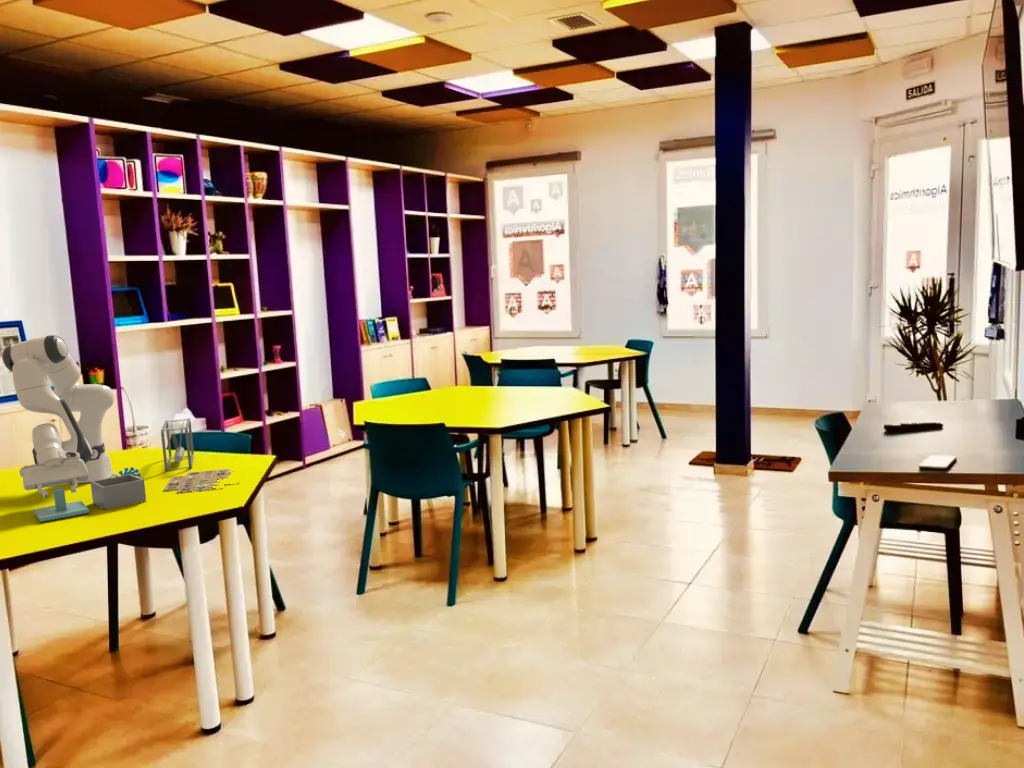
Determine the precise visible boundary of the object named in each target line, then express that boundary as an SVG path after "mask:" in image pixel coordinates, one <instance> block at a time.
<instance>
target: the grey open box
mask: <svg viewBox="0 0 1024 768" xmlns="http://www.w3.org/2000/svg"><path fill="white" fill-rule="evenodd" d="M141 478H142V477H138V476H134V475H132V474H129V475H123V476H121V475H118V477H115V476H114V477H113V476H112V477H109V478H107V479H102V480H97V481H91V482H90V491H91V496H92V503H93V504H94V505H95V504H96V505H95V506H97V505H98V506H97V507H99V506H100V508H101V507H102V508H101V509H103V510H104V509H108V510H111V509H110V508H112V509H115V508H114V507H117V508H120V507H119V506H122V507H125V506H124V505H126V506H129V505H128V504H131V505H134V504H133V503H136V504H138V503H137V502H141V501H145V500H146V501H147V496H146V486H145V479H144V478H143V479H141ZM146 501H145V502H146ZM141 503H142V502H141Z"/></svg>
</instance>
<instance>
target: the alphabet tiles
mask: <svg viewBox="0 0 1024 768" xmlns="http://www.w3.org/2000/svg"><path fill="white" fill-rule="evenodd" d="M229 471H230V472H229ZM234 471H235V470H234ZM234 471H231V468H226V469H225V468H224V469H216V470H214V469H213V470H203V471H202V470H201V471H192V472H191V471H189V472H187V474H186V475H181V476H179V475H178V476H171V478H170V479H169V480H168V482H167V483H166V484H165V486H164V488H163V490H162V492H163V491H167V492H171V491H170V490H177V491H176V494H177V493H180V494H184V493H183V492H190V493H193V492H192V491H199V492H203V491H202V490H208V491H210V490H209V489H216V488H213V487H212V486H218V485H219V484H218V485H215V484H213V483H219V482H220V481H219V482H217V480H219V479H222V480H223V479H225V478H228V477H227V476H229V475H231V472H234ZM218 477H219V478H218ZM206 484H207V485H206ZM205 485H206V486H205Z"/></svg>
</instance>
